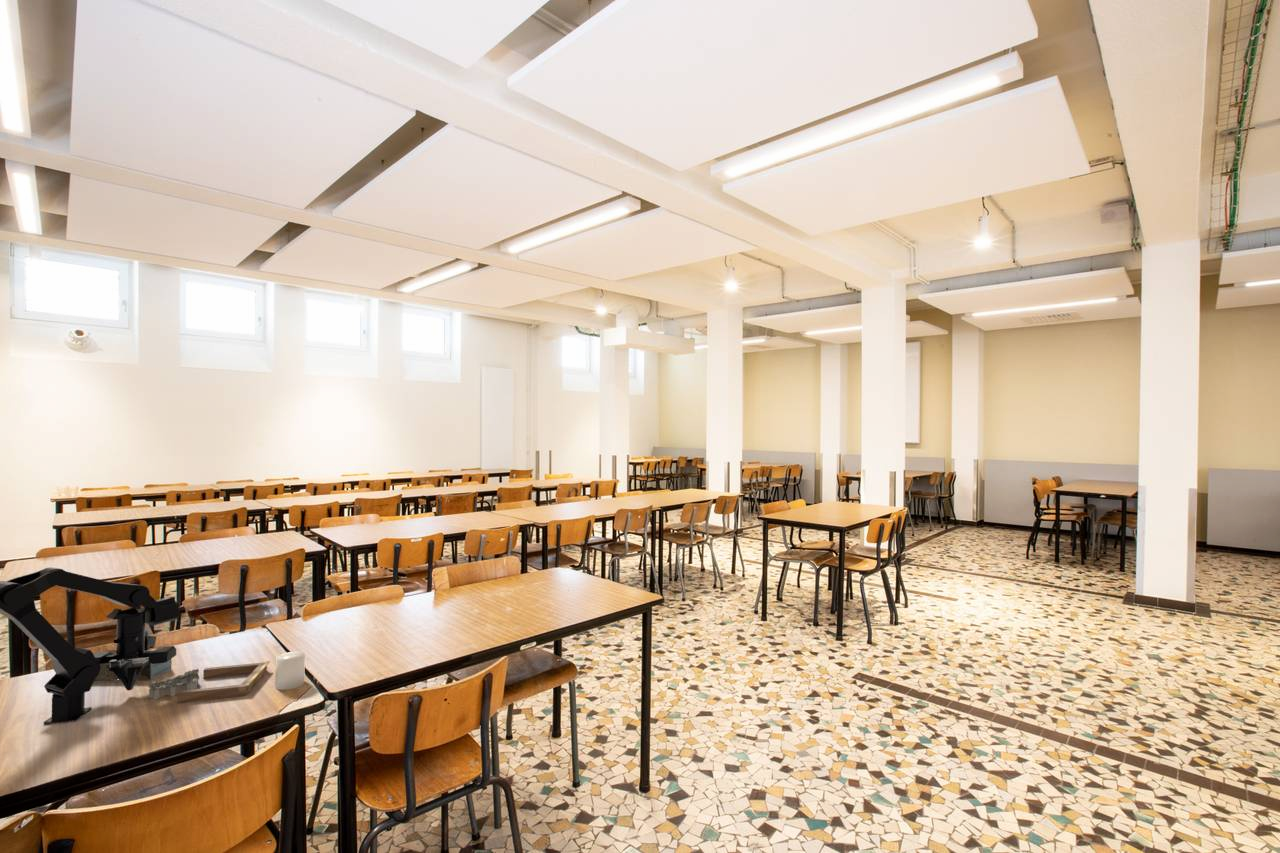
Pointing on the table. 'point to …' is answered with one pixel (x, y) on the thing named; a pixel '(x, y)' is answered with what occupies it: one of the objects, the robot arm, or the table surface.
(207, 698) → the frame
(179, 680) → the egg carton
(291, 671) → the off-white rounded cube
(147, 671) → the grey-green printed box
